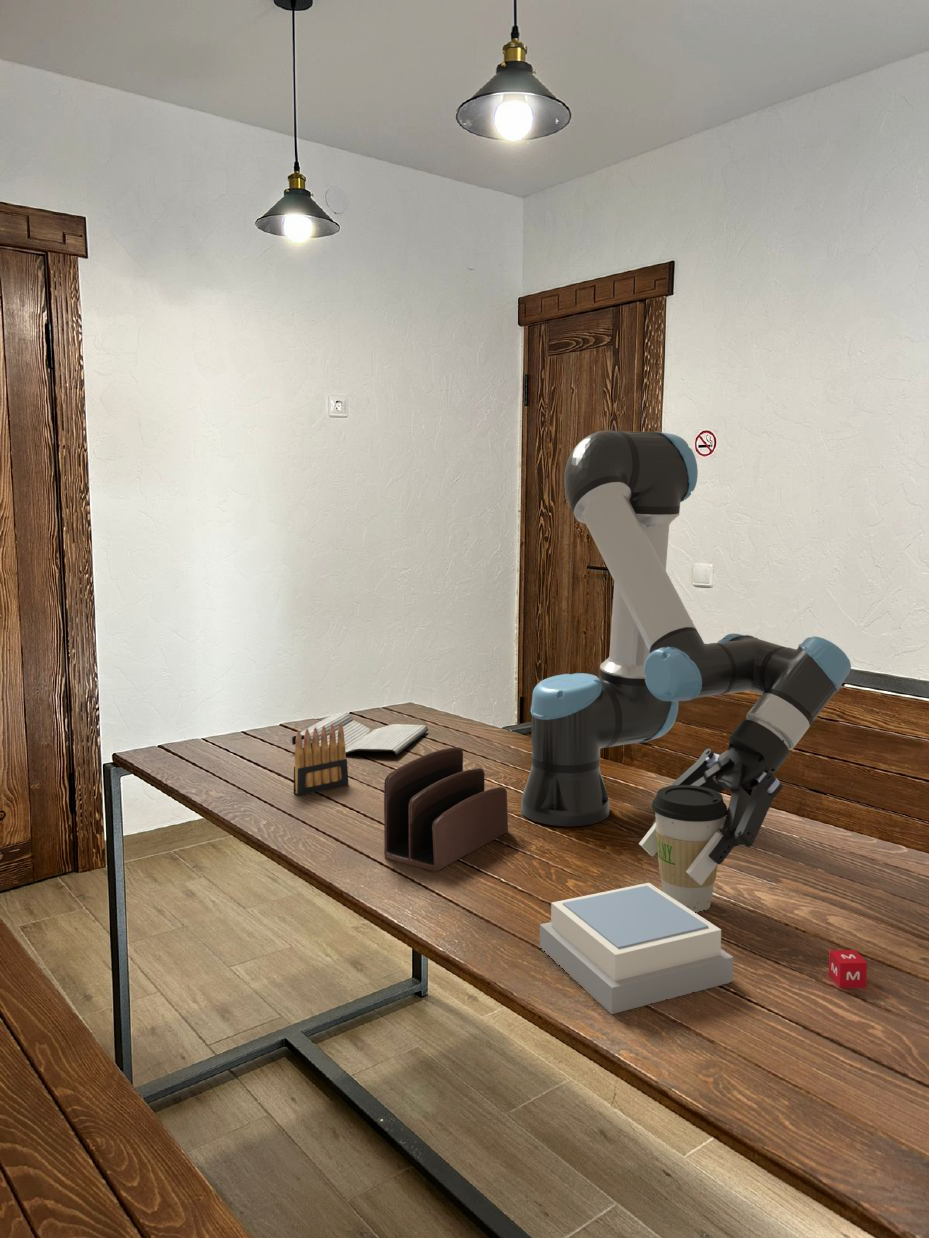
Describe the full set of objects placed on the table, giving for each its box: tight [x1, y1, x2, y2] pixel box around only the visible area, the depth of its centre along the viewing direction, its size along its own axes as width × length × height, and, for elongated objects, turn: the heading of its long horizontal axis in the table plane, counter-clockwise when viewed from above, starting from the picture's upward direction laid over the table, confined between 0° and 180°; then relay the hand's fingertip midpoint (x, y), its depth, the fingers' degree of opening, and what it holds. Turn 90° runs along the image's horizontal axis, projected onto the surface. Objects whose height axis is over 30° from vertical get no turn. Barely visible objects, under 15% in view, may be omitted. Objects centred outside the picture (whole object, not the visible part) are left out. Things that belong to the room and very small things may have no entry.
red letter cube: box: [827, 949, 868, 989], centre depth 106 cm, size 3×3×3 cm
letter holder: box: [383, 746, 509, 873], centre depth 146 cm, size 10×20×14 cm, turn 145°
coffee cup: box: [651, 785, 728, 913], centre depth 125 cm, size 10×10×15 cm
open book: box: [291, 711, 429, 759], centre depth 207 cm, size 23×24×5 cm
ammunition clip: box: [293, 723, 350, 797], centre depth 174 cm, size 11×2×12 cm, turn 127°
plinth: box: [539, 882, 734, 1015], centre depth 109 cm, size 16×16×6 cm
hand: (668, 863), depth 124 cm, fingers closed on coffee cup, 10 cm apart
